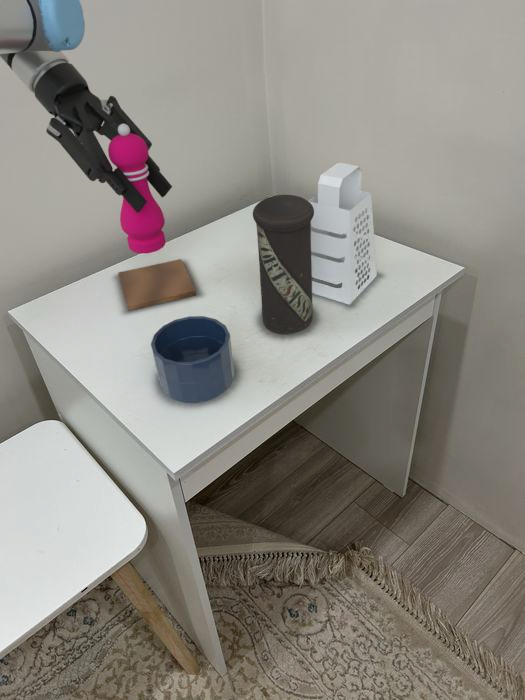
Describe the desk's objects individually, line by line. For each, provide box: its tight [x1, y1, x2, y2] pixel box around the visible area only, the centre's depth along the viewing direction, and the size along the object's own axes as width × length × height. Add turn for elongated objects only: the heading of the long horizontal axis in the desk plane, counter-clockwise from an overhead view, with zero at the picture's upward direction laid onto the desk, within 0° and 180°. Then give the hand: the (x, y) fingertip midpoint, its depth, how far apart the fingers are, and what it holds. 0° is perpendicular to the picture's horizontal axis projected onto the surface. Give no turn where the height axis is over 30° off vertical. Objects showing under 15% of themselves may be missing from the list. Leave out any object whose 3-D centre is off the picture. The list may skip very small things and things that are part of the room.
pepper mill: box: [107, 124, 167, 255], centre depth 87 cm, size 7×7×20 cm
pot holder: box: [117, 258, 197, 312], centre depth 98 cm, size 12×12×1 cm
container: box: [252, 194, 314, 335], centre depth 82 cm, size 9×9×20 cm
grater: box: [307, 162, 378, 305], centre depth 90 cm, size 10×10×20 cm
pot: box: [150, 315, 235, 404], centre depth 76 cm, size 11×11×7 cm
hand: (154, 199), depth 86 cm, fingers closed on pepper mill, 5 cm apart
